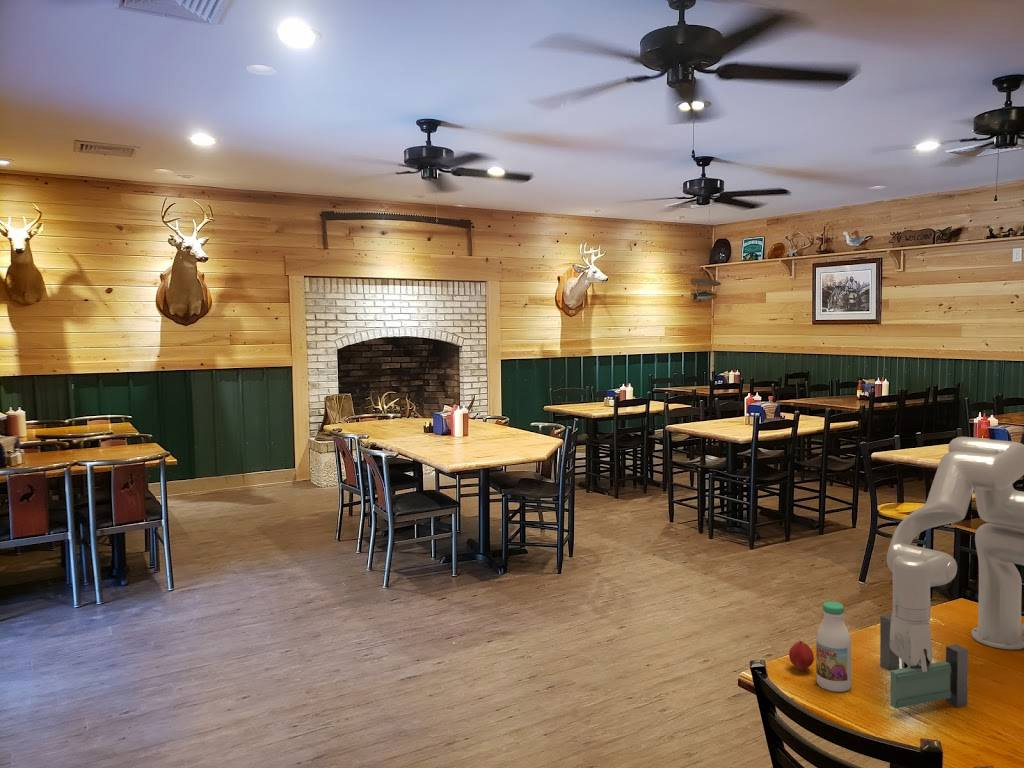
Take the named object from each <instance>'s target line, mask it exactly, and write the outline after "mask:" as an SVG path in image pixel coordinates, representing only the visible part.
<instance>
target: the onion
mask: <svg viewBox="0 0 1024 768" xmlns="http://www.w3.org/2000/svg"><path fill="white" fill-rule="evenodd" d="M788 657H789V661H790V663H791V664H792V665H793V666H794V667H795V668H796V669H798V670H799V671H802V672H803V671H805V670H806V669H808V668H809V667H811V666H812V665H813V663H814V660H815V657H814V652H813V650H812V649H811V646H809V645H808V644H807V643H805V642H804V640H803V639H799V641H798V642H795V643H794V644H793V645H792V646H791V647H790V649H789V652H788Z"/></svg>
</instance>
